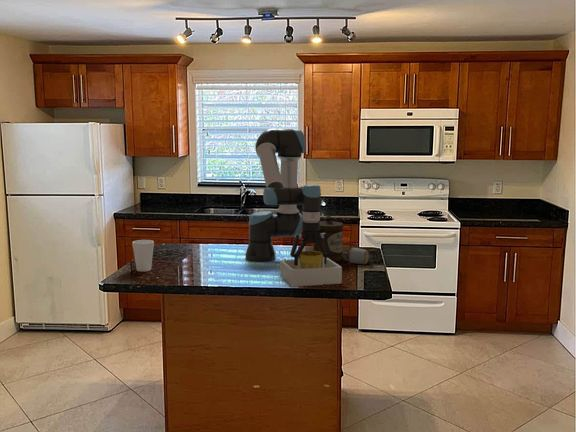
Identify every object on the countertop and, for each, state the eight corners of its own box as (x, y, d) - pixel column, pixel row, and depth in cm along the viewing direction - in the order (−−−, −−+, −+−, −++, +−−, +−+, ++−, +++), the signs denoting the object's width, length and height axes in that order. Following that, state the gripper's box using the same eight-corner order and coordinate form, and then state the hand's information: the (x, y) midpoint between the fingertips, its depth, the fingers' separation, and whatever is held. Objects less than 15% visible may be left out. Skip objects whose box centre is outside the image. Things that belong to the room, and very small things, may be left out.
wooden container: (333, 263, 264) (335, 218, 261) (307, 259, 272) (308, 216, 269) (347, 257, 277) (348, 215, 273) (321, 254, 284) (322, 212, 281)
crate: (280, 275, 239) (280, 260, 238) (327, 273, 245) (327, 257, 244) (291, 286, 222) (291, 270, 221) (341, 283, 228) (341, 267, 227)
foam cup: (158, 268, 250) (157, 240, 248) (147, 273, 241) (146, 244, 239) (140, 266, 253) (140, 239, 251) (128, 271, 244) (128, 242, 242)
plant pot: (305, 279, 226) (305, 256, 225) (293, 273, 235) (294, 251, 234) (326, 276, 231) (327, 254, 230) (314, 271, 240) (314, 249, 239)
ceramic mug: (365, 266, 259) (365, 250, 258) (348, 264, 262) (349, 248, 261) (370, 262, 269) (371, 246, 268) (355, 260, 272) (355, 245, 271)
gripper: (287, 223, 223) (286, 275, 226) (339, 221, 229) (338, 272, 232) (282, 220, 230) (282, 271, 234) (333, 219, 236) (332, 268, 240)
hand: (310, 272), depth 233 cm, fingers closed on plant pot, 10 cm apart
